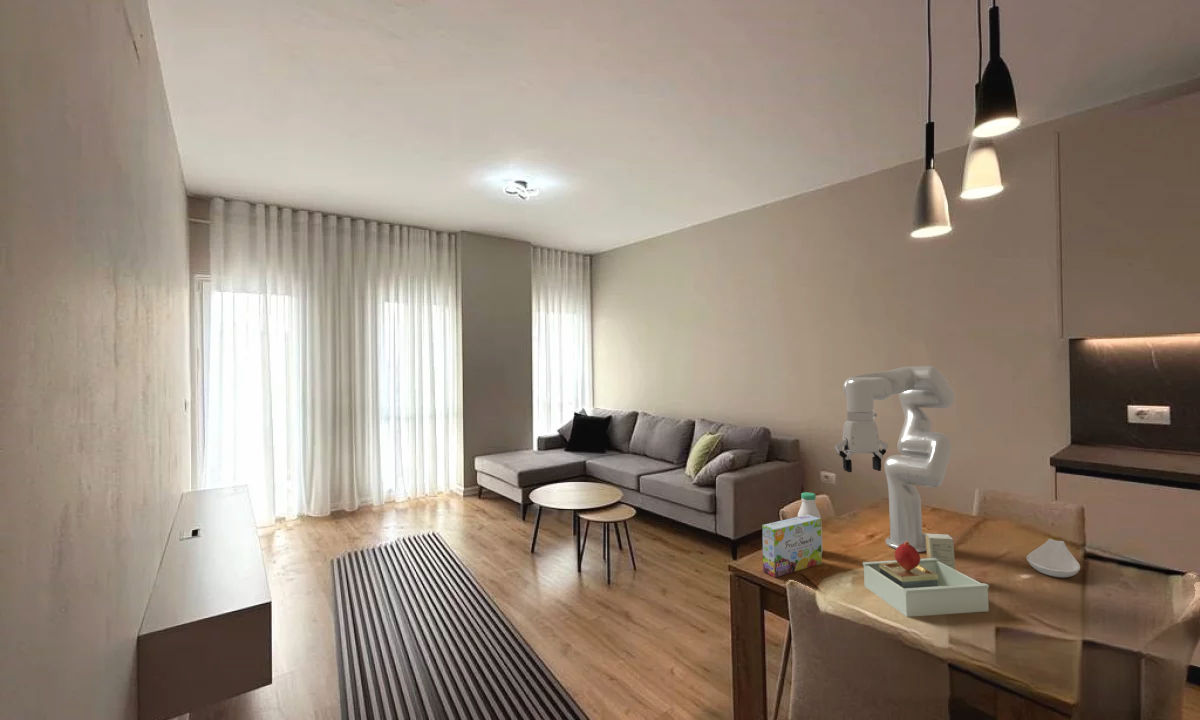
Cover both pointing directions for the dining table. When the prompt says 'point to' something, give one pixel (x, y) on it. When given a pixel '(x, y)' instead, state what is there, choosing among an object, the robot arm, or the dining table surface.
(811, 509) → the milk bottle
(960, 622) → the dining table surface
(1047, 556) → the spoon rest
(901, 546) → the onion
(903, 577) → the tin
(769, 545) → the snack box
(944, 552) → the skincare box
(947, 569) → the box
